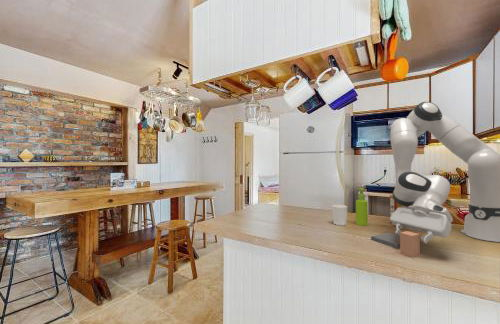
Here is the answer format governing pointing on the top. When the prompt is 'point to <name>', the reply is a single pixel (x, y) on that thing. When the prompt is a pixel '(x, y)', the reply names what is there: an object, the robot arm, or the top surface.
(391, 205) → the baking soda box
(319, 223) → the top surface
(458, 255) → the top surface
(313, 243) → the top surface
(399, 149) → the robot arm
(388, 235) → the slate coaster
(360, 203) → the soap dispenser
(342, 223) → the white cup
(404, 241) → the terracotta block
